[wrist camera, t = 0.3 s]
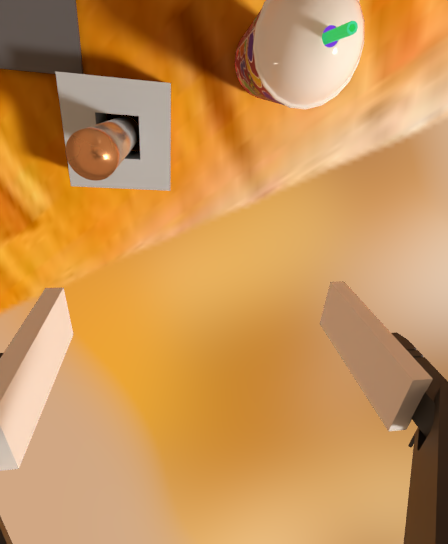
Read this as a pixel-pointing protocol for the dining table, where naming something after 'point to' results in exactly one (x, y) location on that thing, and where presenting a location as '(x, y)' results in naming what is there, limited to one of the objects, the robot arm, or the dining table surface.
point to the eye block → (125, 101)
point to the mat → (40, 36)
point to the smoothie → (301, 51)
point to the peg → (101, 147)
